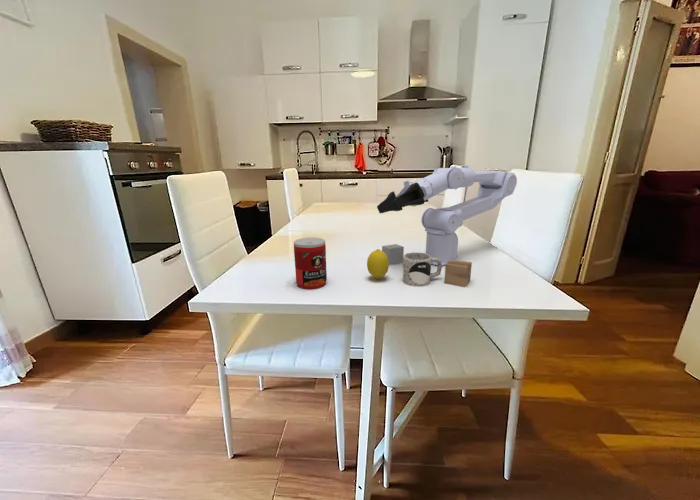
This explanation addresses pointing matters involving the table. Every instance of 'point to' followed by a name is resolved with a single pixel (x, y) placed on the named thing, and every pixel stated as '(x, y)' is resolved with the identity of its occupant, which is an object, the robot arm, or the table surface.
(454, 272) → the walnut block
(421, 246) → the table surface
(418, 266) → the mug
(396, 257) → the grey block
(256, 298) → the table surface
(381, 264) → the lemon
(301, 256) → the canned food
